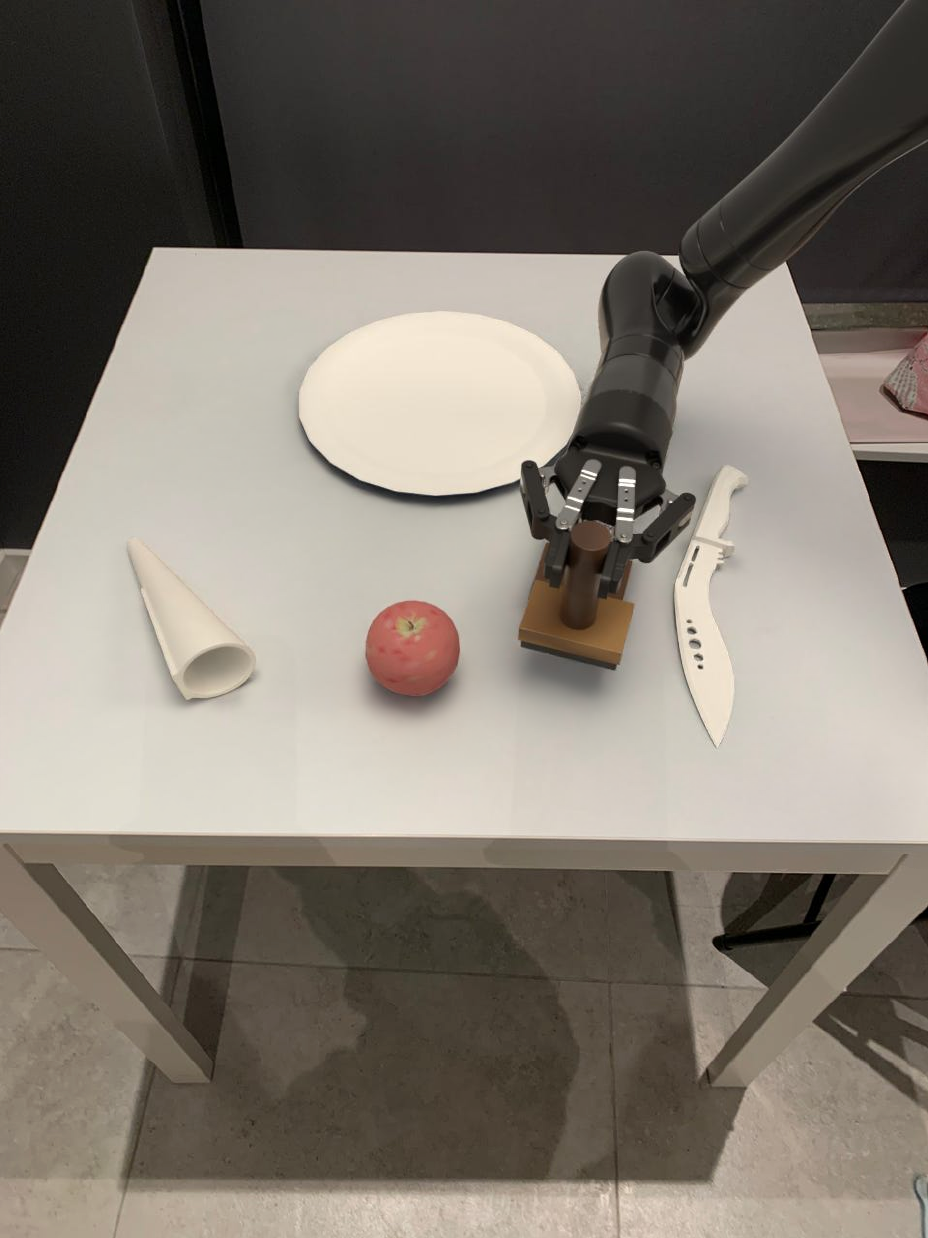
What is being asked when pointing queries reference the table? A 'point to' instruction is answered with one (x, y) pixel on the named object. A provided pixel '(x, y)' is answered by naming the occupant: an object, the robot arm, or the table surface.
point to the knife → (707, 608)
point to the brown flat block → (540, 576)
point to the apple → (412, 648)
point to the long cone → (190, 631)
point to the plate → (439, 403)
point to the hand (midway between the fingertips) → (579, 585)
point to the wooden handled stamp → (578, 607)
